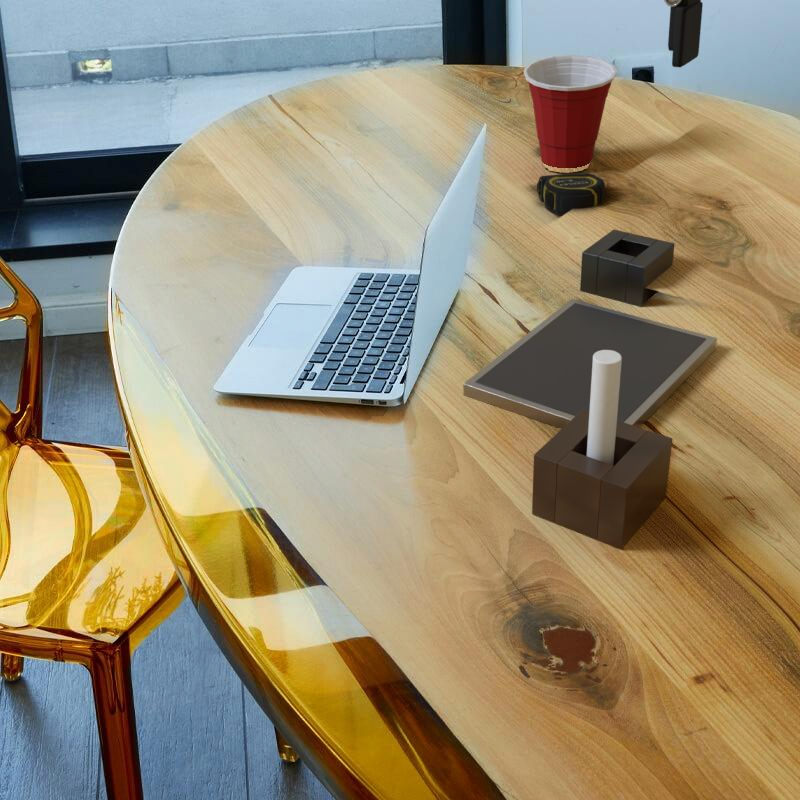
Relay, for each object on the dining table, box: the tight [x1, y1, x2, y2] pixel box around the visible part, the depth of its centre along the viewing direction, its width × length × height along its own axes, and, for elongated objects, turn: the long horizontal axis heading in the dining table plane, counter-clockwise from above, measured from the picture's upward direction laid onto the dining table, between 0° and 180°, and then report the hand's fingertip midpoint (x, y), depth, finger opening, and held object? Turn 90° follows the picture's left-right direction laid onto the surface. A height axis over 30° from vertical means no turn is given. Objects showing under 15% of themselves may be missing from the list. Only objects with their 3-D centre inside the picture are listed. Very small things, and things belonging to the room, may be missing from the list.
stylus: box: [587, 350, 622, 465], centre depth 71 cm, size 2×2×12 cm
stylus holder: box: [579, 229, 675, 307], centre depth 102 cm, size 6×6×4 cm
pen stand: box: [531, 409, 674, 550], centre depth 73 cm, size 7×7×5 cm
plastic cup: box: [523, 54, 618, 168], centre depth 129 cm, size 11×11×12 cm
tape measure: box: [536, 172, 606, 217], centre depth 118 cm, size 7×7×4 cm
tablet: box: [462, 298, 718, 430], centre depth 90 cm, size 14×18×1 cm
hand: (752, 69), depth 73 cm, fingers open, 9 cm apart
